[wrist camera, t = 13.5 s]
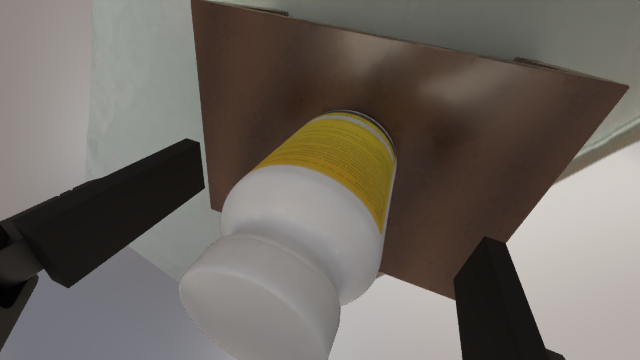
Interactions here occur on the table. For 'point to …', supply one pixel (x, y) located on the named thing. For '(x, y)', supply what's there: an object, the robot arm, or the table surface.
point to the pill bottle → (296, 242)
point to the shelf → (398, 124)
